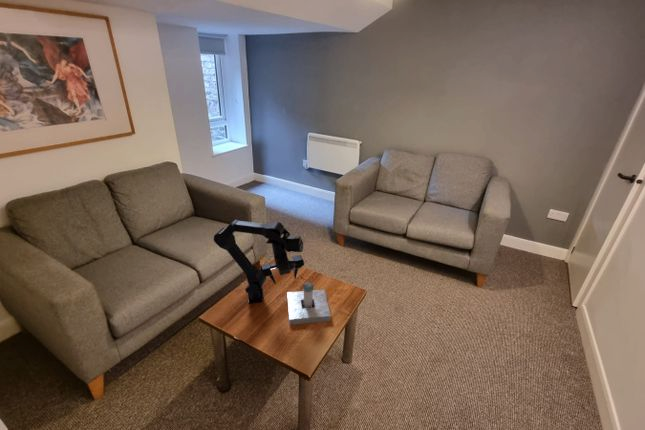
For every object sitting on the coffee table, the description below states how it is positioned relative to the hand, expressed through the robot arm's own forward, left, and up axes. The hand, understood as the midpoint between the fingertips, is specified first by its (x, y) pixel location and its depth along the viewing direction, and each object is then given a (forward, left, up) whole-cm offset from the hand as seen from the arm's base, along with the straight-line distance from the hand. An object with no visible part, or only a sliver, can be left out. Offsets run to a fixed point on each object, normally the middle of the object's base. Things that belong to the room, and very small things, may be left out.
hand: (285, 281), depth 141 cm
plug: (+10, -5, -13) cm, 17 cm away
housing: (+10, -5, -13) cm, 17 cm away
